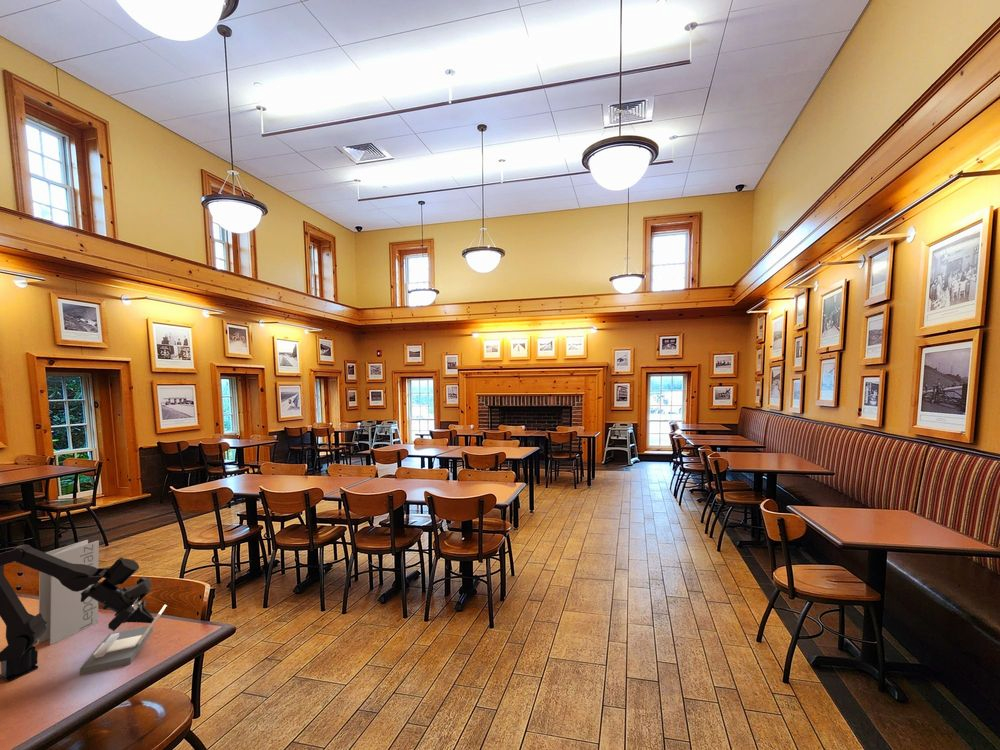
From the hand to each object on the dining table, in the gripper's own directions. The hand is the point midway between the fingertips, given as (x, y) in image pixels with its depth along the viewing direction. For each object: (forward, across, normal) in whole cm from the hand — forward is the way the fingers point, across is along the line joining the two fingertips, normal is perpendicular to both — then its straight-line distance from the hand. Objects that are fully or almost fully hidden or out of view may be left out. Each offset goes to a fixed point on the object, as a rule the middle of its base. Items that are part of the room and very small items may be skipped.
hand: (152, 621), depth 142 cm
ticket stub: (+2, 0, +6) cm, 6 cm away
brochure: (-16, +23, +27) cm, 38 cm away
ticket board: (-1, 0, +12) cm, 12 cm away
